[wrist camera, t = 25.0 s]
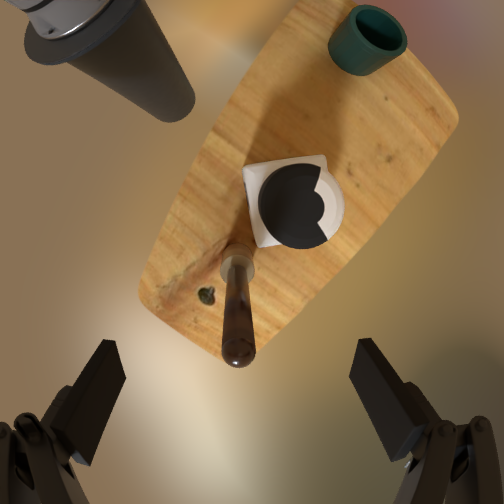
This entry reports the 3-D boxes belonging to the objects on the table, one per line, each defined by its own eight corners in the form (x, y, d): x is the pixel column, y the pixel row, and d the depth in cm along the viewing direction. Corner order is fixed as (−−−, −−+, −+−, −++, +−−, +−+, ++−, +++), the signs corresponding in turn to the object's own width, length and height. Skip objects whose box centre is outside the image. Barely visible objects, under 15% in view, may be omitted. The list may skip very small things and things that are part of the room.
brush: (216, 252, 33) (193, 351, 14) (242, 237, 33) (251, 324, 14) (231, 276, 34) (228, 392, 15) (257, 262, 34) (282, 369, 15)
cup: (317, 38, 26) (337, 9, 19) (359, 27, 26) (383, 2, 18) (346, 82, 28) (374, 61, 21) (386, 69, 28) (417, 50, 20)
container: (252, 232, 33) (262, 268, 21) (241, 167, 31) (243, 162, 18) (315, 221, 33) (359, 249, 21) (306, 158, 31) (348, 149, 18)
